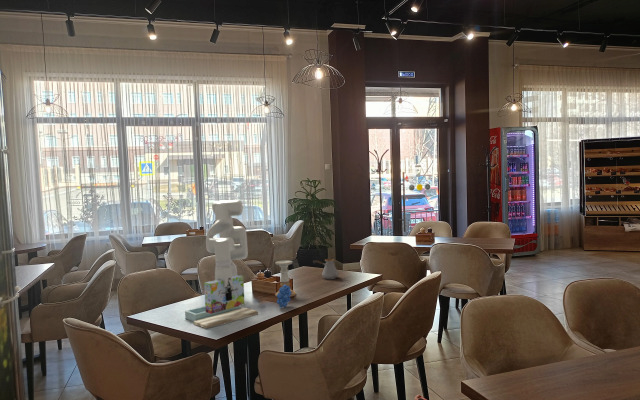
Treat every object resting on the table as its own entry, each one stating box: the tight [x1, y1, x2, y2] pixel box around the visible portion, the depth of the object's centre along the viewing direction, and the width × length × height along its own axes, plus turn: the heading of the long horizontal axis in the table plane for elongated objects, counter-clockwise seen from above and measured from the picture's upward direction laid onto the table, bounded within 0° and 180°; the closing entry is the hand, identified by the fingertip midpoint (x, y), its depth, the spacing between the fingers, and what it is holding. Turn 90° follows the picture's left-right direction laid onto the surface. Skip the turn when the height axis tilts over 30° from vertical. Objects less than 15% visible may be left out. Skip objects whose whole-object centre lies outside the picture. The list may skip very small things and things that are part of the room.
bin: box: [184, 305, 241, 323], centre depth 242 cm, size 11×26×4 cm, turn 133°
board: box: [193, 307, 259, 329], centre depth 233 cm, size 12×30×2 cm, turn 133°
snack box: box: [203, 274, 246, 314], centre depth 232 cm, size 21×6×15 cm, turn 141°
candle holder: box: [274, 259, 297, 298], centre depth 276 cm, size 12×12×20 cm
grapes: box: [276, 284, 292, 309], centre depth 250 cm, size 12×7×12 cm, turn 146°
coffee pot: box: [313, 258, 339, 280], centre depth 314 cm, size 21×12×15 cm, turn 137°
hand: (225, 299), depth 233 cm, fingers closed on snack box, 6 cm apart
